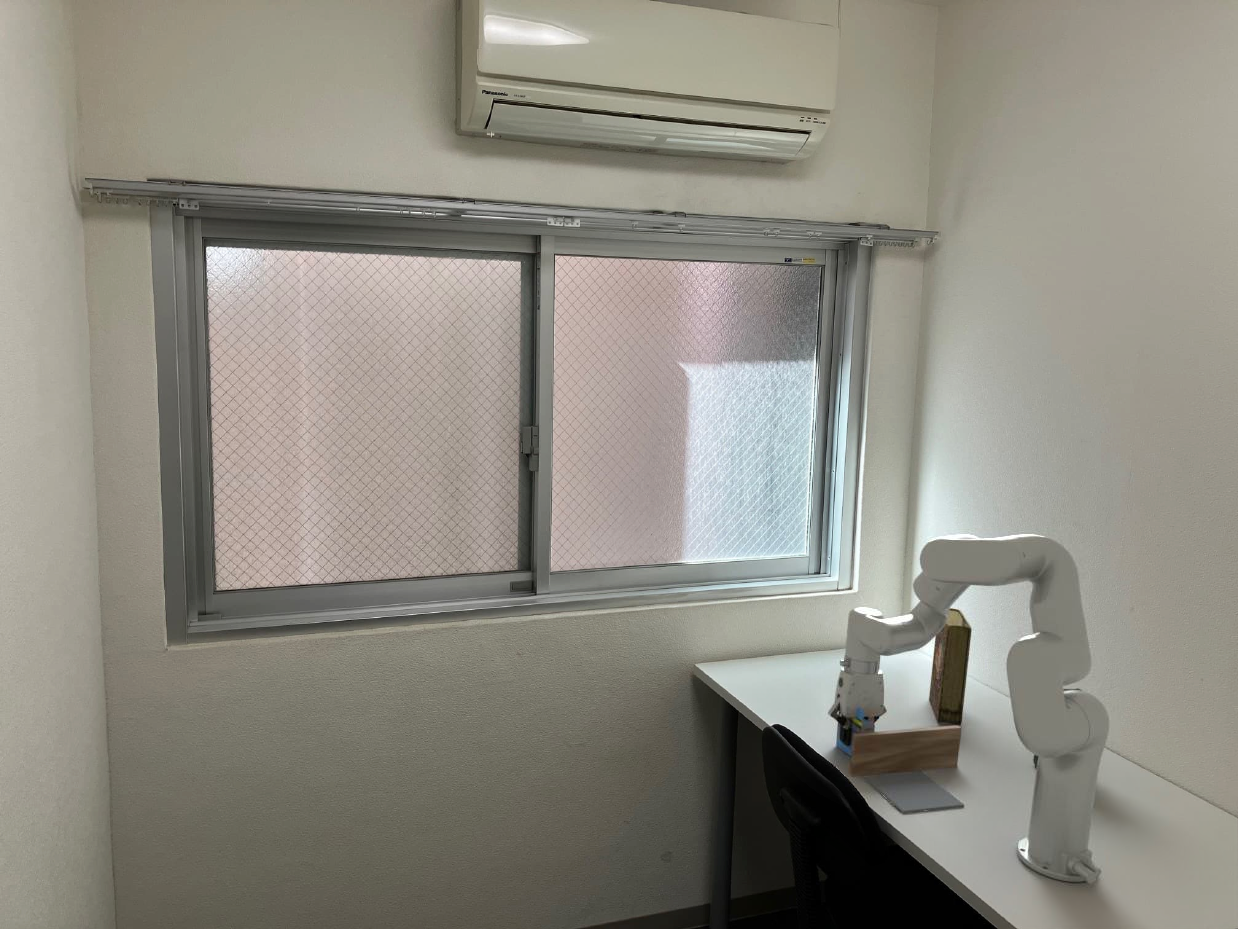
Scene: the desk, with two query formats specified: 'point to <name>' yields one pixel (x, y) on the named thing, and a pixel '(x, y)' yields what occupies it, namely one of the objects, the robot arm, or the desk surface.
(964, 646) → the book
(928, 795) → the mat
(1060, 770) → the robot arm
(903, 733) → the walnut screen
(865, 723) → the label tape box
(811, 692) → the desk surface
